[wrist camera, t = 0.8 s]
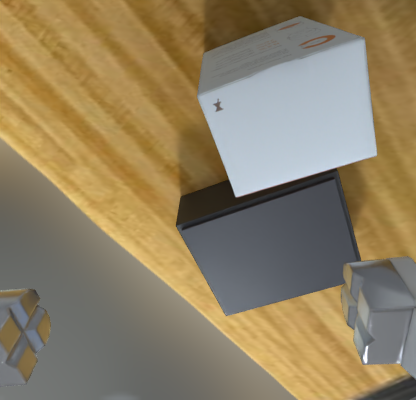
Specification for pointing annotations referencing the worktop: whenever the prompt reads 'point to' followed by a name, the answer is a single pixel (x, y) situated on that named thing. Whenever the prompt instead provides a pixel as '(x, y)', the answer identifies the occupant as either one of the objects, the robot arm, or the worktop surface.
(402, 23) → the worktop surface
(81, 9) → the worktop surface
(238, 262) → the dark gray box
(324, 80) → the small box
